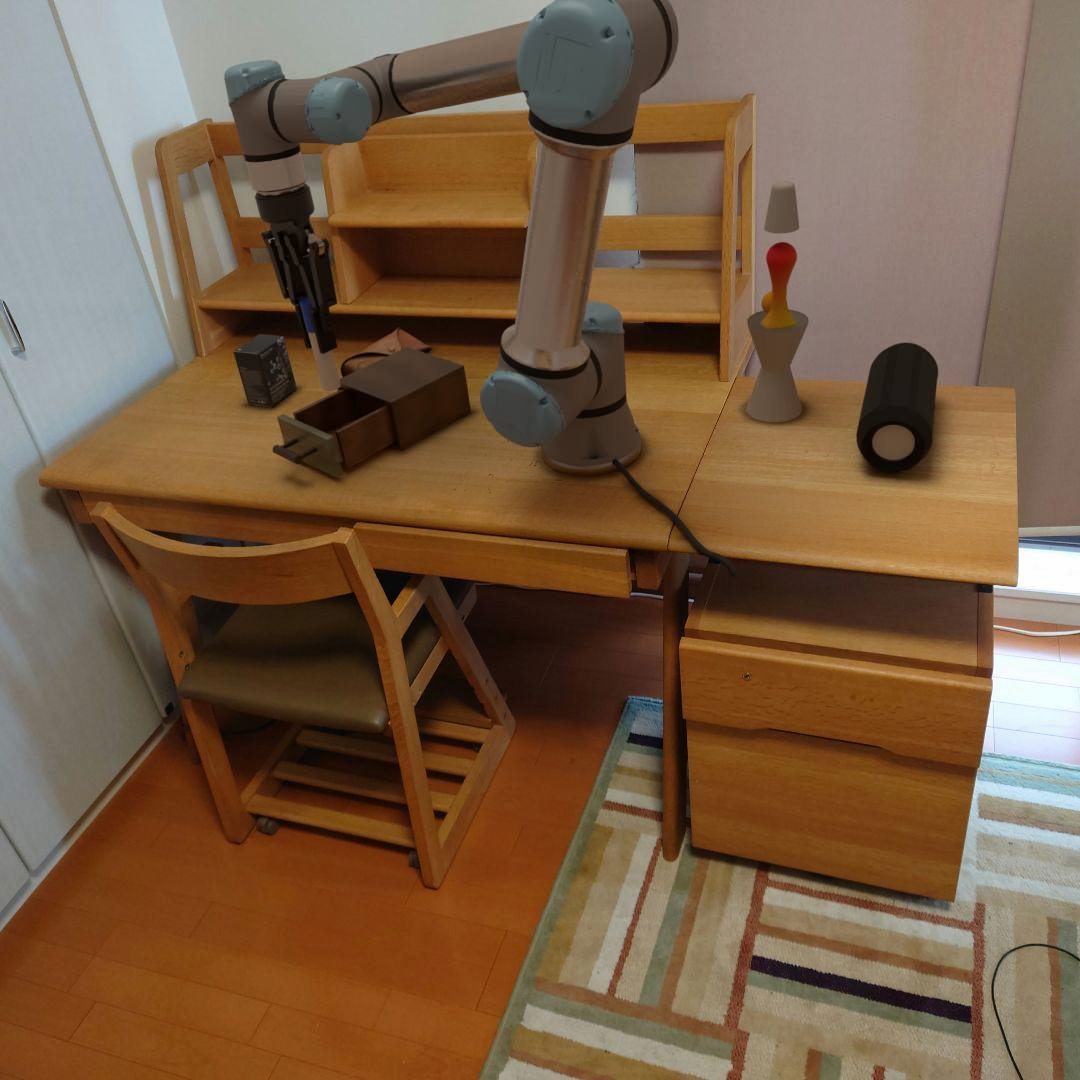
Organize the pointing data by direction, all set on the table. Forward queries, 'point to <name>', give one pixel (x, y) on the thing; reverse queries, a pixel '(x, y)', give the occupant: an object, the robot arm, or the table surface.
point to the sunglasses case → (382, 351)
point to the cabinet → (414, 392)
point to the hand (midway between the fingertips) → (321, 347)
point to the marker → (323, 361)
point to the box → (265, 370)
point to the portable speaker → (898, 408)
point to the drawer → (336, 432)
